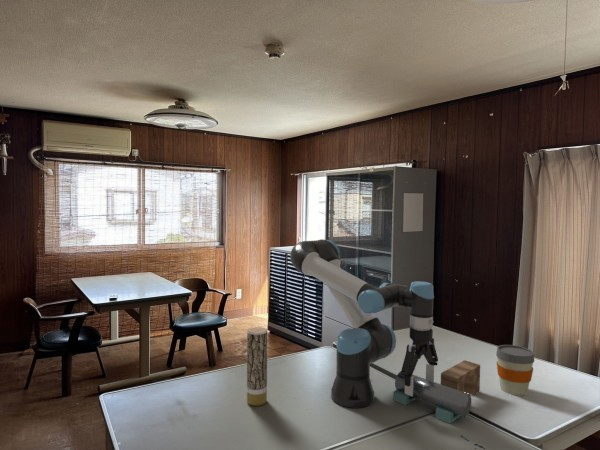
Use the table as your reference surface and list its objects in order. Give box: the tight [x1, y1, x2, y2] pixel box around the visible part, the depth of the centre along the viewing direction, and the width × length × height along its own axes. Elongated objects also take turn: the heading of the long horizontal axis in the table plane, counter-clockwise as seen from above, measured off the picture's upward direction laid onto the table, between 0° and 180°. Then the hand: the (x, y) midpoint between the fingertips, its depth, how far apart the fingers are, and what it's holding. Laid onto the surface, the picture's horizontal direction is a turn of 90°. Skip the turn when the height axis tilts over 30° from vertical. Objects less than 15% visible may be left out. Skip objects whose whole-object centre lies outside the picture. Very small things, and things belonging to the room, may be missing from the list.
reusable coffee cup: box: [495, 344, 535, 397], centre depth 151 cm, size 13×13×15 cm
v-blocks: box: [392, 389, 462, 424], centre depth 138 cm, size 9×21×3 cm, turn 43°
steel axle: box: [394, 370, 472, 418], centre depth 136 cm, size 24×7×7 cm, turn 43°
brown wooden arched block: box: [440, 360, 481, 396], centre depth 145 cm, size 18×6×10 cm, turn 133°
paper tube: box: [246, 326, 268, 407], centre depth 139 cm, size 7×7×25 cm
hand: (419, 388), depth 140 cm, fingers open, 13 cm apart
